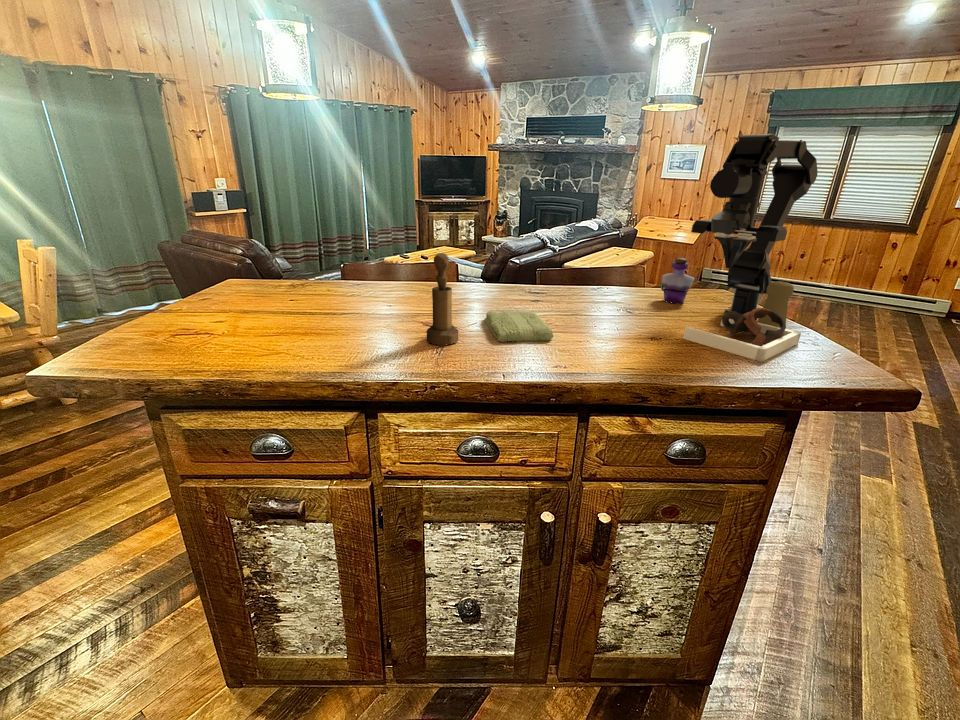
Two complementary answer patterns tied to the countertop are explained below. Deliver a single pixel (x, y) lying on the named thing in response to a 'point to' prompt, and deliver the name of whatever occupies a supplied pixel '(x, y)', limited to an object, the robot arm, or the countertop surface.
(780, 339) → the cream bay
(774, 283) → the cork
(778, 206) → the robot arm
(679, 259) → the potion bottle
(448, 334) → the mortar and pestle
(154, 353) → the countertop surface
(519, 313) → the washcloth
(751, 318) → the brown looped piece
